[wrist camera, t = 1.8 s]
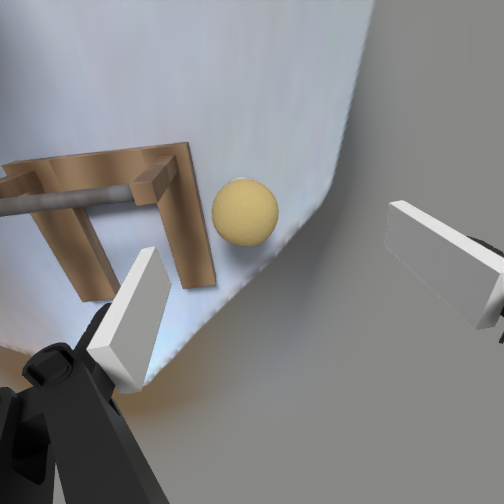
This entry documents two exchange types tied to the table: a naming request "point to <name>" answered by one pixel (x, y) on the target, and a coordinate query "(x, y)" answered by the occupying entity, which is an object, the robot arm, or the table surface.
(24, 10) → the table surface
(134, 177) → the wooden rack frame
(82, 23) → the table surface
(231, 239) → the light bulb
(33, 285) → the table surface
